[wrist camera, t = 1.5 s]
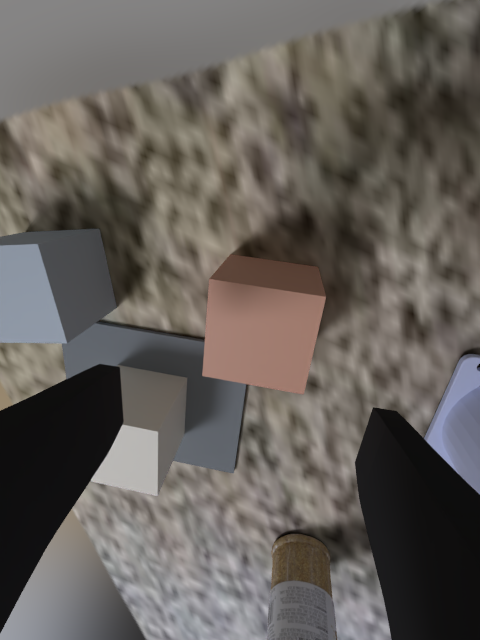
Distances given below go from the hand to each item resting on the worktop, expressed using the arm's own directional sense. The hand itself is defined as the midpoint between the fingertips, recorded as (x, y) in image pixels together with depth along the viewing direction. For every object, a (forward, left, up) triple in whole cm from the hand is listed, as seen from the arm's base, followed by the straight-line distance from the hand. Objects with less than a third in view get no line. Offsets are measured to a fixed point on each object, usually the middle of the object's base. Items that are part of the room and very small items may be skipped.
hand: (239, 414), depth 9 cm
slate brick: (+11, 0, -10) cm, 15 cm away
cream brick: (+6, +8, -9) cm, 14 cm away
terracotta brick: (0, 0, -10) cm, 10 cm away
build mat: (+6, +8, -10) cm, 14 cm away
